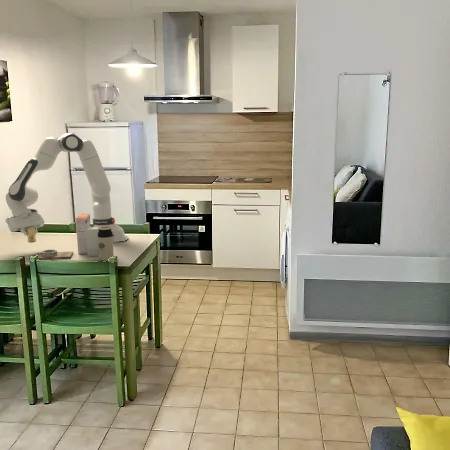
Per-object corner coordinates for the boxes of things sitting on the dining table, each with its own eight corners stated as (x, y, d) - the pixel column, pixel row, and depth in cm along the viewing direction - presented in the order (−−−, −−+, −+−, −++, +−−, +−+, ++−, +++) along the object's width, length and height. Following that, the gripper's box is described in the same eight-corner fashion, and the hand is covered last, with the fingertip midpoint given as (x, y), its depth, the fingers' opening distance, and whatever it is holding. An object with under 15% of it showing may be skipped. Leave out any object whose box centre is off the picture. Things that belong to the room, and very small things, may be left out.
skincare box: (104, 252, 296) (102, 226, 293) (101, 256, 290) (100, 229, 287) (89, 253, 296) (88, 226, 293) (86, 256, 290) (85, 229, 286)
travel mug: (107, 256, 289) (106, 225, 285) (116, 259, 284) (115, 227, 280) (96, 259, 283) (94, 227, 279) (105, 262, 278) (103, 229, 274)
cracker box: (82, 247, 308) (80, 213, 303) (92, 247, 308) (90, 213, 304) (77, 254, 294) (75, 218, 289) (88, 254, 294) (86, 218, 290)
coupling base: (73, 253, 295) (72, 248, 295) (70, 258, 285) (69, 253, 284) (37, 254, 293) (36, 249, 292) (32, 260, 282) (32, 254, 281)
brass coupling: (36, 240, 299) (35, 227, 298) (35, 242, 295) (33, 228, 293) (28, 240, 299) (27, 227, 297) (27, 242, 294) (25, 229, 293)
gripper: (5, 214, 290) (15, 234, 286) (39, 209, 305) (49, 227, 301) (2, 221, 294) (12, 240, 290) (36, 215, 309) (46, 234, 305)
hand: (31, 234), depth 295 cm, fingers closed on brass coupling, 4 cm apart
